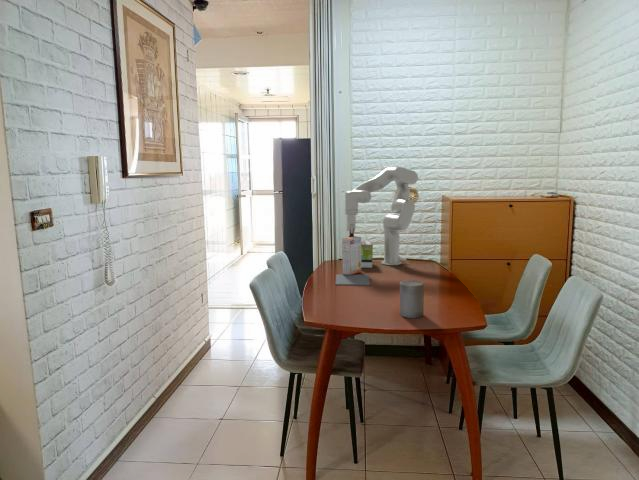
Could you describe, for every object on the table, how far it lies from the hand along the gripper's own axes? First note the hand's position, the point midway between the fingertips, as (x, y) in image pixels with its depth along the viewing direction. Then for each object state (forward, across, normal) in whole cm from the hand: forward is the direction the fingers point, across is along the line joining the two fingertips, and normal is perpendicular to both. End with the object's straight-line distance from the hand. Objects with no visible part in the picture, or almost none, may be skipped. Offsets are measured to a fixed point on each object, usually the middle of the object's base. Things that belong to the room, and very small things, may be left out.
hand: (351, 242), depth 280 cm
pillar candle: (+17, +88, +23) cm, 93 cm away
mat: (+17, +27, 0) cm, 32 cm away
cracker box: (+16, +12, 0) cm, 20 cm away
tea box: (+17, -14, +8) cm, 23 cm away
